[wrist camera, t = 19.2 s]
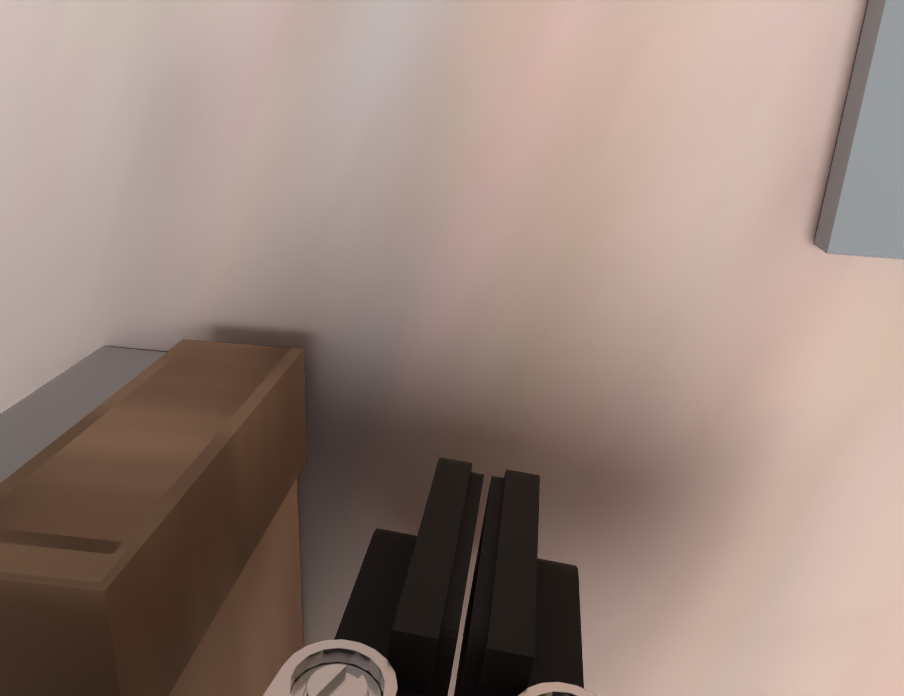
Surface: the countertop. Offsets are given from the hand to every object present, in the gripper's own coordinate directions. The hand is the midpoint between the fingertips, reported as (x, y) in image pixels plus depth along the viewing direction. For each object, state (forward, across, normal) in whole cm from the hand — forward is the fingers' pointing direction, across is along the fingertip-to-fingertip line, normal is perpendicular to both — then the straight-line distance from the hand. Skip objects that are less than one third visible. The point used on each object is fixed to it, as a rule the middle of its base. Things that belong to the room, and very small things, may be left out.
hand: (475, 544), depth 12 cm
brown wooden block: (+1, +4, +4) cm, 5 cm away
